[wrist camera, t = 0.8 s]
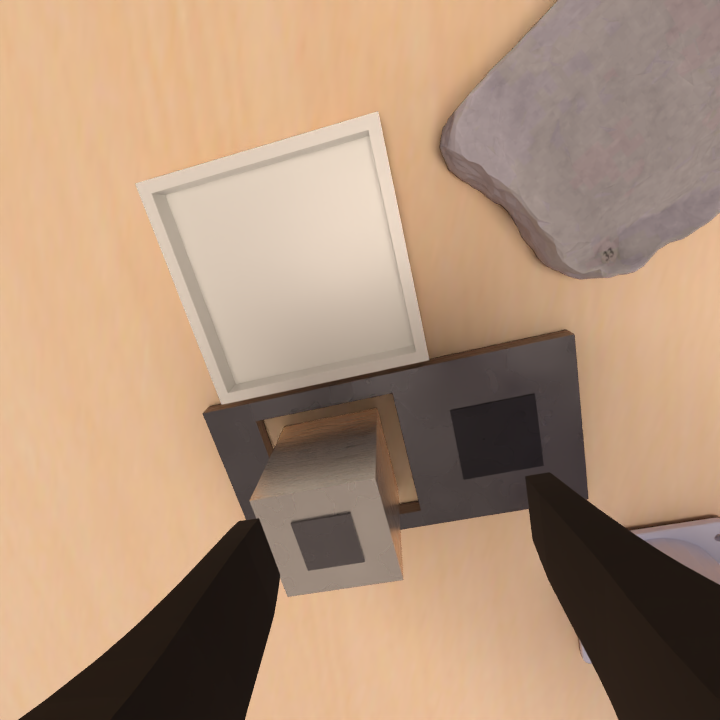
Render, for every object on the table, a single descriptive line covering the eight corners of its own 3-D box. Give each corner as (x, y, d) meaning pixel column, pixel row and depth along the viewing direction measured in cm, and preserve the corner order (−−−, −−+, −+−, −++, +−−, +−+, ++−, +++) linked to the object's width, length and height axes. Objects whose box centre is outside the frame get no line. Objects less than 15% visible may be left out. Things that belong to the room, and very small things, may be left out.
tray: (425, 350, 19) (429, 360, 18) (232, 392, 21) (221, 404, 19) (378, 120, 16) (378, 111, 15) (154, 186, 18) (134, 183, 16)
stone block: (779, 90, 17) (680, -165, 13) (928, 75, 13) (843, -306, 9) (544, 290, 21) (413, 134, 17) (600, 329, 16) (442, 133, 13)
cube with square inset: (398, 488, 22) (403, 582, 16) (311, 503, 23) (287, 598, 17) (377, 407, 21) (375, 479, 15) (284, 426, 21) (248, 502, 16)
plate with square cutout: (581, 489, 22) (589, 499, 21) (263, 542, 24) (259, 553, 23) (566, 329, 19) (575, 334, 18) (209, 406, 21) (202, 414, 20)
